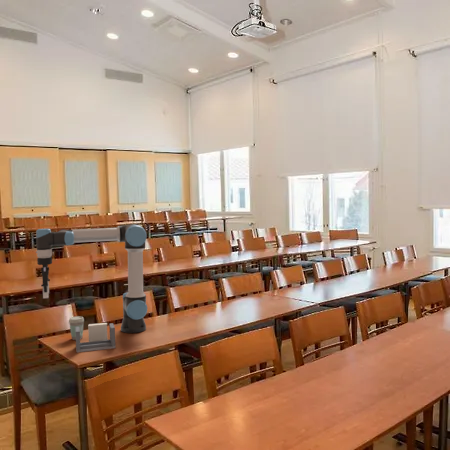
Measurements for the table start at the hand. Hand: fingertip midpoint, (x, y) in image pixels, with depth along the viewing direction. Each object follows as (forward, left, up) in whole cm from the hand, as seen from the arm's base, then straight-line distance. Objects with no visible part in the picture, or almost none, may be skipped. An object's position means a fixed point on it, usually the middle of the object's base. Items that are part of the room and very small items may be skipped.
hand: (46, 295), depth 264 cm
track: (-24, +14, -28) cm, 39 cm away
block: (-26, +4, -28) cm, 38 cm away
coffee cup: (-15, -7, -28) cm, 33 cm away
